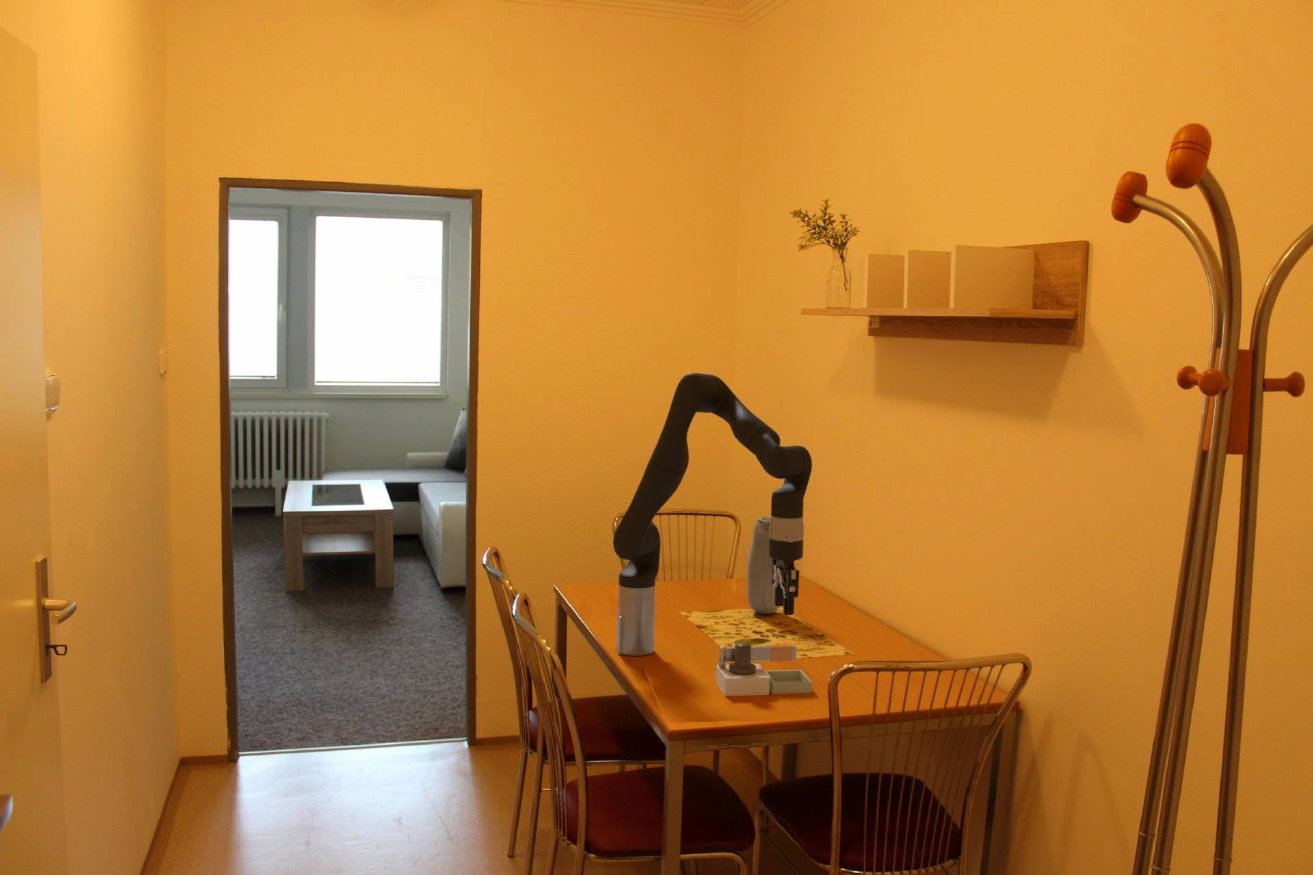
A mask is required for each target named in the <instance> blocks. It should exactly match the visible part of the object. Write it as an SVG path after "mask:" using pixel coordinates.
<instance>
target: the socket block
mask: <svg viewBox="0 0 1313 875" xmlns="http://www.w3.org/2000/svg"><path fill="white" fill-rule="evenodd" d="M753 664H754V665H755V666H756V673H754V674H752V675H734V674H733V673H731V672H729V664H726V668H719V664H716V665H715V683H716V684H717V686H718V688H719V689H720V691H721V692H722V694H723V695H724V697H732V696H733V697H734V696H735V697H736V696H737V697H738V696H739V697H740V696H770V689H769V676H768V675H767V674H766V672H765V671H766V670H764V669H763V667H762V666H761V664H759V663H753Z"/></svg>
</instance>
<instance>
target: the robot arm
mask: <svg viewBox="0 0 1313 875" xmlns="http://www.w3.org/2000/svg"><path fill="white" fill-rule="evenodd" d="M696 413H704V414H710V413H711V414H713V415H715V416H717V417H719V418H720V419H722V420H724V421H725V423H727V424H728V425H729V426H730V429H731V432H732V434H733V436H734V438H735V439H736V440H737V441H738V442H739V443H740V444H741V445H742V446H743V447H744V448H746V449H747V450H748V451H749V452H751V454H752V455H753V456H755V457H756V459H757V461H758V462H759V464H760V466H761V467H762V468H763V470H764V471H765V472H766V474H768V475H769V476H771V477H773V478H775V479H778V480H784V481H783V484H782V486H780V487H778V488H776V489H775V490H774V491H773V492H772V494H771V500H770V501H771V503H770V504H771V505H770V509H771V510H770V518H771V520H770V526H769V557H770V558H772V584H774V589H775V603H774V604H775V605H776V606H779V607H783V609H782V610H783V614H784V616H793V615H794V614H795V599H796V598H798V597H799V587H800V586H799V584H800V582H799V581H800V571H799V569H797V568H796V567H795V561H800V560H802V558H803V556H804V536H805V535H804V531H805V530H804V529H805V526H804V525H805V524H804V498H805V494H806V492H807V489H808V486H809V482H810V477H811V474H812V468H813V461H812V456H811V453H810V452H809V450H808V449H807V448H806V447H805V446H802V445H788V446H787V445H786V446H785V445H783V446H781V438H780V436H779V434H778V433H777V432H776V431H775V430H774V429H773V428H772V427H771V426H769V425H768V424H767V423H766V422H764V421H763V420H762V419H760V418H759V417H758V416H757V415H755V414H754V413H753V412H752V411H751V410H750V409H749V408H748V407H746V405H745V404H744V403H743V402H742V401H741V400H740V399H739V397H737V396H736V394H735V393H734V392H733V390H731V389H730V387H729V386H728V385H727V383H725V382H724V381H723V380H722V378H720V377H718V376H717V375H714V374H708V373H701V372H700V373H699V372H688V373H686V374H684V375H683V376H682V377H681V379H680V380H679V381H678V384H677V386H676V389H675V391H674V394H673V397H672V400H671V403H670V407H669V411H668V414H667V416H666V419H665V422H664V425H663V426H662V430H661V433H660V435H659V438H658V439H657V443H656V445H655V447H654V449H653V451H652V453H651V456H650V457H649V460H648V463H647V465H646V467H645V469H644V472H643V475H642V477H641V479H640V482H639V484H638V486H637V487H636V488H637V489H636V491H635V493H634V495H633V497H632V500H631V501H630V503H629V506H628V508H627V510H626V511H625V513H624V515H623V517H622V518H621V520H620V522H619V523H618V525H617V527H616V529H615V531H614V535H613V538H612V546H613V550H614V552H615V554H616V555H617V556H618V558H620V559H622V560H624V561H628V562H627V564H626V566H625V567H624V568H623V569H622V570H621V572H619V575H618V604H617V605H618V606H617V607H618V608H617V612H616V649H617V650H616V651H617V653H618V654H619V655H627V656H634V657H635V656H636V657H638V656H647V655H650V654H653V653H654V651H655V611H656V607H655V605H656V604H655V603H656V579H657V576H658V575H659V574H658V573H659V570H660V560H661V559H660V558H661V535H660V531H659V529H658V527H657V525H656V523H654V522H653V520H654V519H655V518H654V517H656V515H657V514H658V512H659V511H660V510H661V508H662V507H663V506H665V505H666V503H667V502H668V501H669V500H670V499H671V497H672V496H673V495H674V494H675V492H676V491H677V490H678V489H679V487H680V485H681V483H682V480H683V478H684V476H685V474H686V472H687V470H688V467H689V464H690V463H689V462H690V453H689V444H688V433H689V429H690V426H691V424H692V421H693V420H694V418H695V416H696ZM790 589H791V590H790Z"/></svg>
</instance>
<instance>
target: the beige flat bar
mask: <svg viewBox="0 0 1313 875" xmlns="http://www.w3.org/2000/svg"><path fill="white" fill-rule="evenodd" d="M718 651H719V652H718V653H719V654H718V665H719V668H726V665H727V662H735V646H719V649H718ZM796 660H797V646H796V645H792V644H789V645H788V644H781V645H776V644H775V645H765V646H764V645H761V646H760V645H757V646H752V645H751V662H760V661H764V662H765V661H767V662H768V661H770V662H784V661H788V662H789V661H796Z"/></svg>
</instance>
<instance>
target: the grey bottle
mask: <svg viewBox="0 0 1313 875" xmlns="http://www.w3.org/2000/svg"><path fill="white" fill-rule="evenodd" d="M770 520H771V517H760V518H758V519H757V520H756V521H755V523H754V525H753V532H752V533H753V534H752V540H751V544H750V548H749V552H748V556H747V588H746V589H747V595H746V596H747V601H748V604H749V606H750V608H751V609H752V610H753V611H754V612H756V613H758V614H761V615H770V614H773V613H775V612H777V610H778V609H779V608H780V606H776V605H775V604H774V603H775V589H774V584H772V558H770V557H769V526H770Z"/></svg>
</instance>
